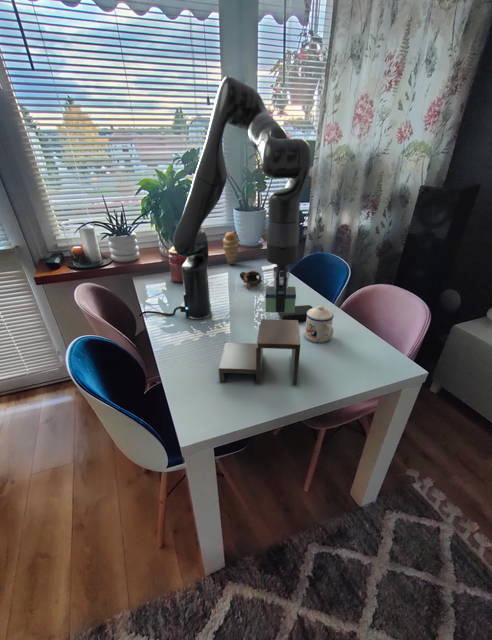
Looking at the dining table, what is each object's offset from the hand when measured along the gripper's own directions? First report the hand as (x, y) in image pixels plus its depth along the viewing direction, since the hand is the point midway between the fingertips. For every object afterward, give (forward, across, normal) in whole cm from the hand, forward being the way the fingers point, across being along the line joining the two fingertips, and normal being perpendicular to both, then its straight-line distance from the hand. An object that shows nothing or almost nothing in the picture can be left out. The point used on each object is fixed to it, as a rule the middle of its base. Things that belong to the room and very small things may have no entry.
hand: (280, 306), depth 86 cm
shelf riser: (+21, 0, -6) cm, 22 cm away
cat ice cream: (+10, -102, -27) cm, 106 cm away
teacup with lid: (+21, -20, +14) cm, 32 cm away
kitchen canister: (+21, -77, -48) cm, 93 cm away
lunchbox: (+1, 0, 0) cm, 1 cm away
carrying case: (+21, -36, +8) cm, 42 cm away
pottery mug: (+21, -69, -13) cm, 73 cm away
